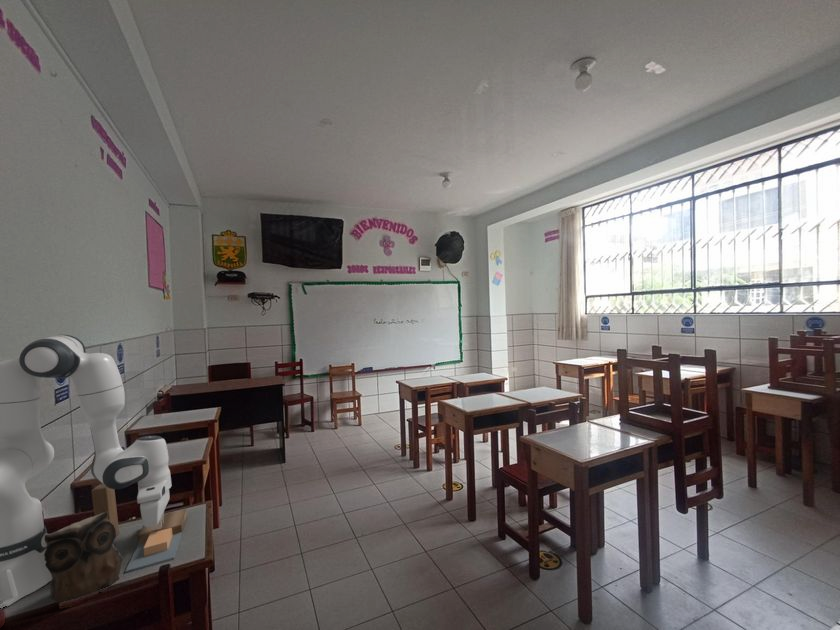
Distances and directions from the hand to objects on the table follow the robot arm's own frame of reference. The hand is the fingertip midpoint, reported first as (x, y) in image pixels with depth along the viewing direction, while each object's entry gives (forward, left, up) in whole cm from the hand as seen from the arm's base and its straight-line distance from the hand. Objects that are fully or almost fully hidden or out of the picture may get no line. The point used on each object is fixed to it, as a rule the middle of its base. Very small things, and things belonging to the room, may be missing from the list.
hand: (159, 526), depth 129 cm
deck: (0, +6, -4) cm, 7 cm away
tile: (+1, -5, -4) cm, 6 cm away
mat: (0, -7, -4) cm, 9 cm away
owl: (-13, -18, -4) cm, 23 cm away
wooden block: (-19, +11, -4) cm, 22 cm away
